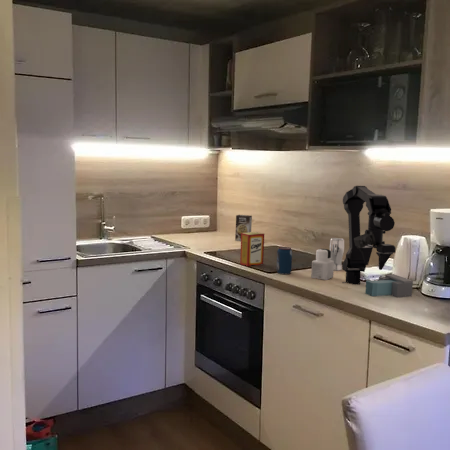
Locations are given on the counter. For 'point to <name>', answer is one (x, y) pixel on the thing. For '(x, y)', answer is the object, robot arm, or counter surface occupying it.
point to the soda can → (284, 260)
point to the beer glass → (337, 252)
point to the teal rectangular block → (379, 287)
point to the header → (399, 285)
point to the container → (322, 265)
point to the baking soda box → (252, 248)
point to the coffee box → (242, 225)
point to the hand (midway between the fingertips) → (373, 267)
